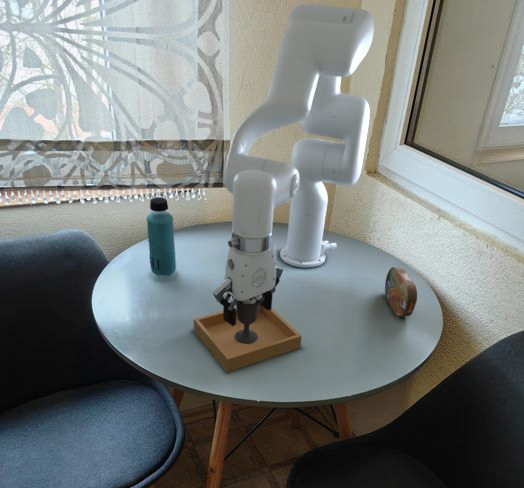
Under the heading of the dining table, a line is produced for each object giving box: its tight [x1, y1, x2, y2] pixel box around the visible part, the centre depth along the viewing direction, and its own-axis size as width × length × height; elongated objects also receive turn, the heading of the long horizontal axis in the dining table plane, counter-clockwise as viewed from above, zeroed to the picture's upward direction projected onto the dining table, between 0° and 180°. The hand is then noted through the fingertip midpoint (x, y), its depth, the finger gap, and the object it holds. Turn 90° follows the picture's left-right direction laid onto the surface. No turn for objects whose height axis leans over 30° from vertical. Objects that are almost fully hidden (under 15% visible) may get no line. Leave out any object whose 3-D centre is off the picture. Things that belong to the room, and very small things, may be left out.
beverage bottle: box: [146, 196, 177, 277], centre depth 125 cm, size 6×7×20 cm
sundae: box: [231, 294, 265, 343], centre depth 106 cm, size 7×7×15 cm
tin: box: [384, 266, 418, 317], centre depth 123 cm, size 15×3×8 cm, turn 5°
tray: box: [193, 305, 303, 373], centre depth 110 cm, size 18×16×3 cm
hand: (247, 314), depth 108 cm, fingers open, 9 cm apart
